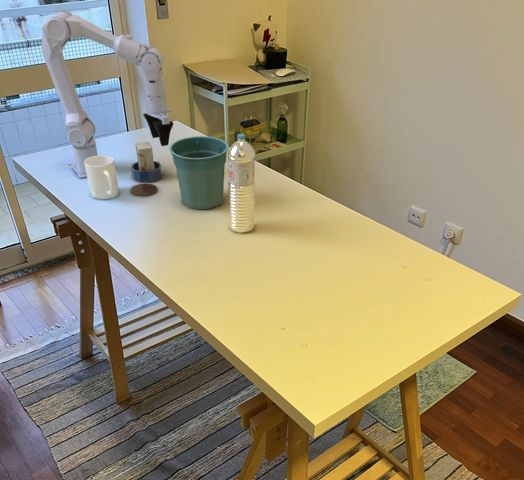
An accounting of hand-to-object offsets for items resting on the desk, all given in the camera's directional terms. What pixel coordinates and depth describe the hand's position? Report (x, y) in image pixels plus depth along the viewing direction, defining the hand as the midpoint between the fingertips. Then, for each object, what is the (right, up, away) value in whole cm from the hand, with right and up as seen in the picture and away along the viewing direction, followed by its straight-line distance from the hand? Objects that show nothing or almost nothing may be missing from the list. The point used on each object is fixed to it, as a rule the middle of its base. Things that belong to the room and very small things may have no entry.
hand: (160, 141), depth 168 cm
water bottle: (+26, -32, -20) cm, 46 cm away
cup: (-15, -19, -6) cm, 25 cm away
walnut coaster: (-4, -16, -3) cm, 17 cm away
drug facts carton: (-5, -10, +5) cm, 12 cm away
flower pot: (+14, -21, -8) cm, 26 cm away
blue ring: (-5, -9, +5) cm, 12 cm away
